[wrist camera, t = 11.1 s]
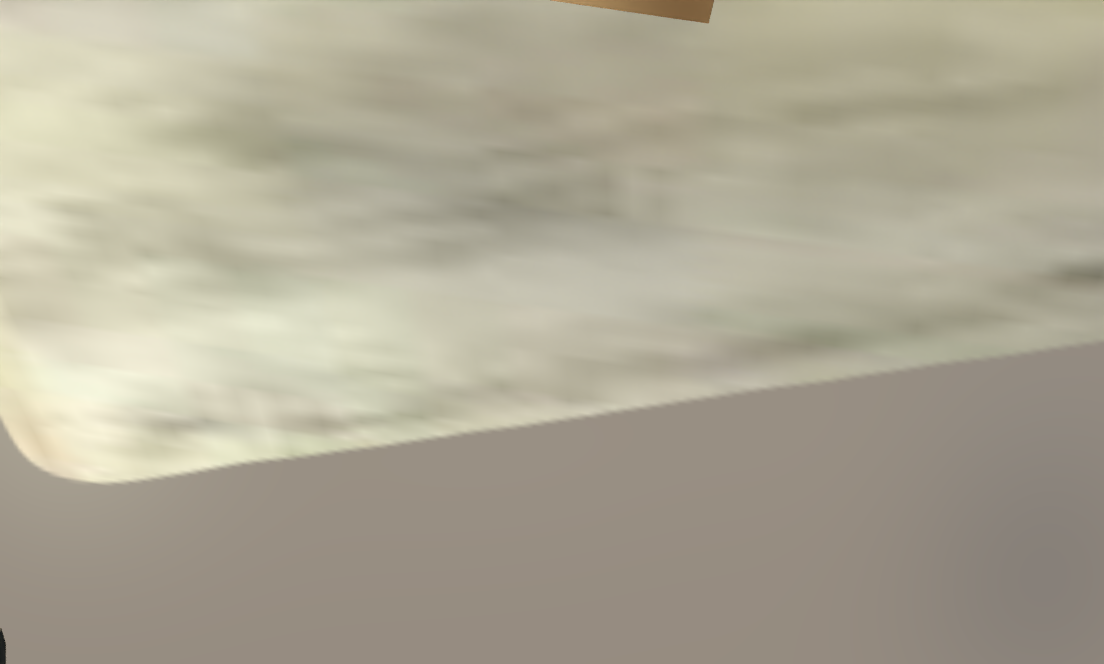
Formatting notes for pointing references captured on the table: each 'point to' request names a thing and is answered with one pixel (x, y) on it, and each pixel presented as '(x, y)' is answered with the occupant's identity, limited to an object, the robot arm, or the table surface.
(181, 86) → the table surface
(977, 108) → the table surface
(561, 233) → the table surface
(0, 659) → the robot arm
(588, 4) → the lid
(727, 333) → the table surface
